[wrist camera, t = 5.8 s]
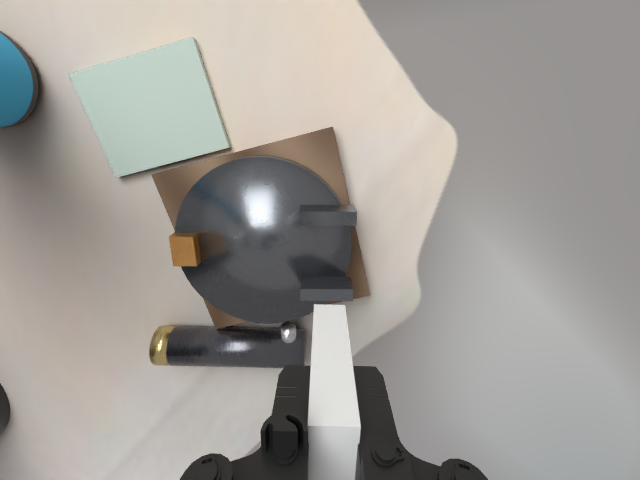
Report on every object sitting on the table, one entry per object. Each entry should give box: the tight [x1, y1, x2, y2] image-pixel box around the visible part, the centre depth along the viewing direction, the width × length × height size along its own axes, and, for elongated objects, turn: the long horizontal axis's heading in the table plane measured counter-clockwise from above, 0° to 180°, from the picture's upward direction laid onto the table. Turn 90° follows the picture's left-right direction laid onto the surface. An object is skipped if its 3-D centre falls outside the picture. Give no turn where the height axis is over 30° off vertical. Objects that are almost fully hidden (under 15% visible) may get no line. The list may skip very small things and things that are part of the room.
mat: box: [68, 37, 231, 178], centre depth 25 cm, size 10×8×1 cm
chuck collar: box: [169, 155, 357, 323], centre depth 25 cm, size 14×14×4 cm
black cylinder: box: [150, 321, 306, 369], centre depth 30 cm, size 6×4×14 cm
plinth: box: [152, 127, 370, 329], centre depth 28 cm, size 15×15×2 cm
